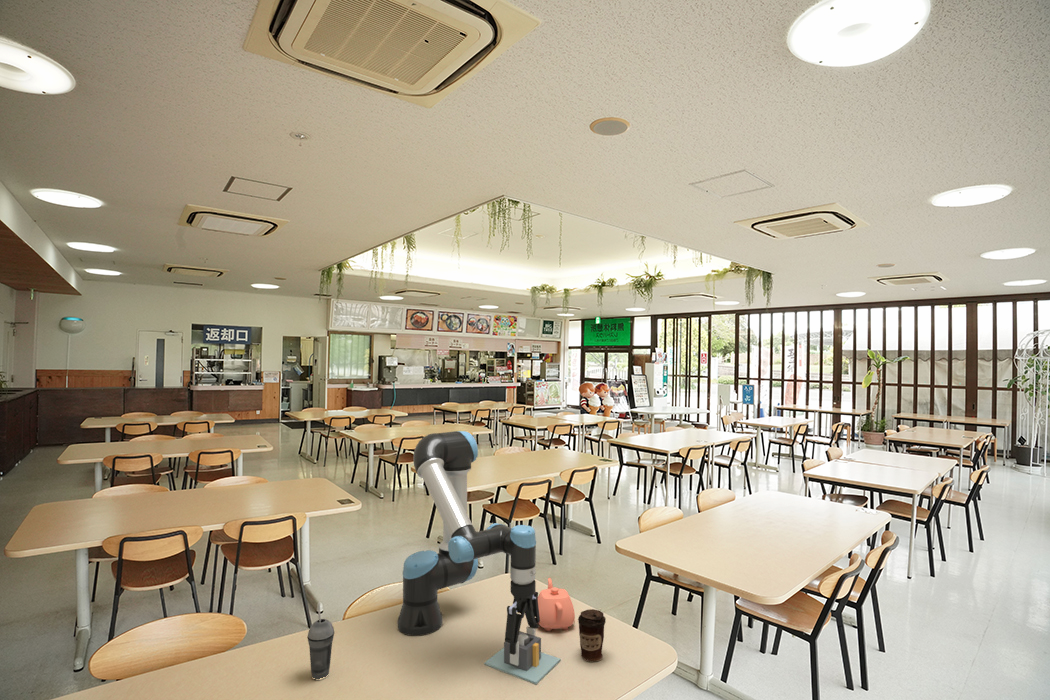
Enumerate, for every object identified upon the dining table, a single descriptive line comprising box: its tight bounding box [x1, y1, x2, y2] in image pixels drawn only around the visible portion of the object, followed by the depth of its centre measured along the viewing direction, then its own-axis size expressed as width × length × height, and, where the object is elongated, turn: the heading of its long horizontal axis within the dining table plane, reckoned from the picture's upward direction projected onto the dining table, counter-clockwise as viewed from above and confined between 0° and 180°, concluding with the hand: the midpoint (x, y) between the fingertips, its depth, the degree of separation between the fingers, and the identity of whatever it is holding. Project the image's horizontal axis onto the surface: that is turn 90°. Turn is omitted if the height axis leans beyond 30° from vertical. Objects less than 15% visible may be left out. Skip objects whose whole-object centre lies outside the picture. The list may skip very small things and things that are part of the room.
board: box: [484, 634, 562, 685], centre depth 155 cm, size 18×14×8 cm
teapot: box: [538, 577, 576, 632], centre depth 180 cm, size 13×20×12 cm, turn 8°
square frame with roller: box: [503, 630, 542, 671], centre depth 155 cm, size 9×8×6 cm
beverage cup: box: [306, 603, 335, 679], centre depth 149 cm, size 7×7×20 cm
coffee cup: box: [577, 608, 606, 663], centre depth 159 cm, size 9×8×13 cm
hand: (522, 656), depth 155 cm, fingers open, 8 cm apart
